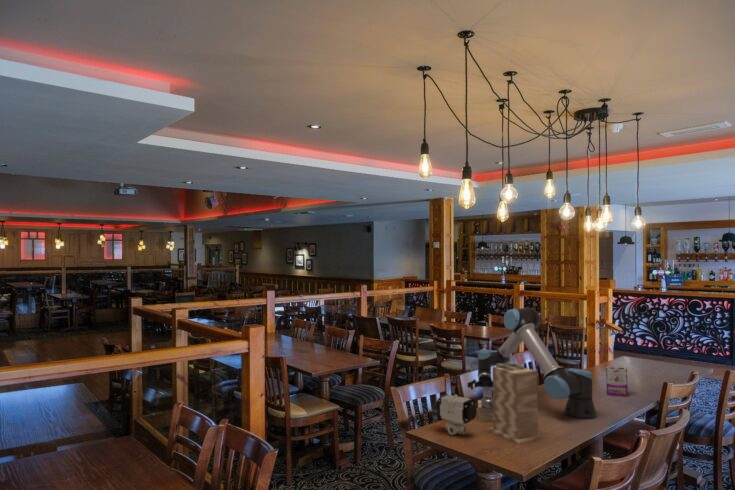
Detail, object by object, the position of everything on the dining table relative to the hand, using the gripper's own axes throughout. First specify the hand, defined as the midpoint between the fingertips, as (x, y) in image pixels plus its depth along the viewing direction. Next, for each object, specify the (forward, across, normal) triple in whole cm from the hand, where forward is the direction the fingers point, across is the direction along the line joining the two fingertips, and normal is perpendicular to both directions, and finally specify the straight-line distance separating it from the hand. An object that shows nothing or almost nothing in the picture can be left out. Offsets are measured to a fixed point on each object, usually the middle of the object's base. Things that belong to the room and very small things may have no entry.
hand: (486, 389), depth 274 cm
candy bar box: (-38, -76, -10) cm, 86 cm away
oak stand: (+40, -11, -9) cm, 42 cm away
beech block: (+16, 0, -9) cm, 19 cm away
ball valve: (+44, +16, -10) cm, 47 cm away
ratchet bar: (+11, 0, -3) cm, 11 cm away
